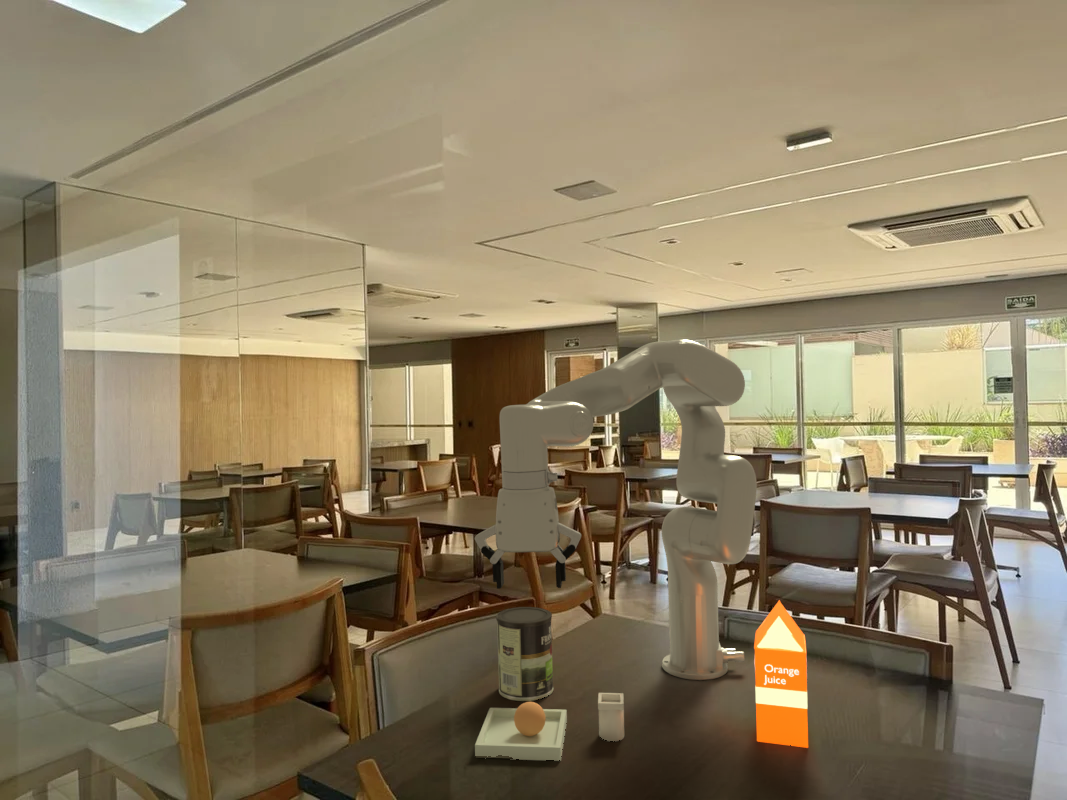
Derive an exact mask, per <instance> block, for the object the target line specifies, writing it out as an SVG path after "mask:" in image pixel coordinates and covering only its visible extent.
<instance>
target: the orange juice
mask: <svg viewBox="0 0 1067 800" xmlns="http://www.w3.org/2000/svg"><path fill="white" fill-rule="evenodd" d="M805 635H806V634H804V633H803V631H802V630H801V629H800V627H799V626H798V624H797V622H796V621H795V620H794V619H793V617H792V616H791V615H790V613H789V612H788V611H787V609H786V608H785V607H784V605H783V604H782V602H781V600H780V599H779V600H778V601H777V603H776V604H775V605H774V607H772V610H771V611H770V612H769V613H768V614H767V616H766V617H765V618H764V620H763V621H762V623H761V624H760V625H759V626H758V628H757V629H756V630H755V635H754V644H753V649H754V660H753V663H754V674H755V685H754V686H755V687H754V689H755V710H756V711H755V713H756V714H755V715H756V717H755V718H756V721H755V722H756V723H755V724H756V742H758V743H759V742H760V743H765V744H766V743H767V744H775V745H783V746H789V747H790V745H791V746H792V747H798V748H799V747H800V748H804V749H805V748H806V749H808V748H809V727H808V726H809V724H808V720H809V719H808V683H807V682H808V680H807V679H808V673H807V672H808V670H807V642H806V636H805Z"/></svg>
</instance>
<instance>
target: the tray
mask: <svg viewBox="0 0 1067 800" xmlns="http://www.w3.org/2000/svg"><path fill="white" fill-rule="evenodd" d="M517 708H518V707H515V708H514V707H513V708H512V707H489V709H488V711H487V714H486V717H485V718H484V721H483V724H482V727H481V729H480V731H479V734H478V736H477V738H476V741H475V744H474V757H475V756H487V757H488V756H491V757H496V756H498V755H502V756H509V757H512V758H513V759H512V760H516V759H519V760H520V761H521V760H523V761H526V760H527V761H546V760H554V761H553V762H561V761H562V757H563V750H564V744H563V743H564V742H565V737H564V736H566V731H565V729H566V730H567V724H568V712H567V711H568V710H567V709H559V708H558V709H553V708H552V709H551V708H542V709H543V710H544V713H545V718H546V720H545V725H544V727H543V729H542V730H541V731H540V732H539V733H538V734H536V735H534V736H526V735H523V734H522V733H520V732H519V731H518V730H517V728H516V726H515V723H514V715H515V712H516V710H517ZM566 723H567V724H566ZM562 749H563V750H562ZM561 756H562V757H561ZM559 760H560V761H559Z"/></svg>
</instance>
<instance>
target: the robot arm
mask: <svg viewBox="0 0 1067 800" xmlns="http://www.w3.org/2000/svg"><path fill="white" fill-rule="evenodd" d="M745 381H746V380H745V375H744V373H743V372H742V370H741V368H740V367H739V366H738V365H737V363H735V362H734V361H733V360H731V359H729V358H727V357H725V356H724V355H722V354H720V353H718V352H716V351H715V350H713V349H711V348H709V347H707V346H705V345H703V344H701V343H699V342H697V341H694V340H692V339H691V340H690V339H686V338H685V339H684V338H683V339H673V340H664V341H663V340H662V341H655V342H654V341H653V342H649V343H646V344H644V345H642V346H640V347H639V348H637V349H635V350H633V351H631V352H629V353H628V354H626V355H624V356H623V357H621V358H619V359H618V360H615V361H614V362H612V363H610V364H609V365H607V366H605V367H602V368H601V369H599V370H596V371H593V372H590V373H588V374H585V375H583V376H581V377H578V378H576V379H573V380H570V381H568V382H566V383H562V384H560V385H557V386H555V387H553V388H551V389H549V390H547V391H546V392H543V393H542V394H541V395H538V396H536V397H535V398H533V399H531V400H530V401H529V402H528V403H527V402H526V404H512V405H507V406H504V407H502V408H501V410H500V411H499V434H500V435H499V436H500V437H499V438H500V459H501V460H500V461H501V480H502V481H501V483H502V486H501V487H502V488H500V489H499V490H498V493H497V501H496V512H495V514H496V515H495V524H493V525H492V526H490V527H488V528H487V529H484V530H483V531H481V532H479V533H478V534H476V535H475V536H474V540H475V543H476V545H477V546H478V548H479V549H480V553H481V554H482V555H483V556H484V557H485V558H486V559H487V560H489V563H491V564H492V566H491V567H492V582H493V583H496V589H502V588H503V586H504V583H505V579H504V578H505V576H504V575H505V573H504V560H503V559H502V557H503V555H504V554H505V553H543V552H544V553H545V552H547V553H548V552H550V553H551V554H552V556H554V558H555V559H556V561H555V581H556V585H555V586H556V588H557V589H561V588H562V585H563V582H567V581H566V580H567V573H566V562H567V560H568V559H569V558H570V557H571V556H572V555H573V553H575V551H576V549H577V548H578V547H577V546H578V545H579V542H580V540H581V538H582V533H581V532H579V531H578V530H575V529H573V528H571V527H569V526H567V525H565V524H563V523H560V520H559V510H558V503H557V501H558V500H557V497H556V493H555V488H554V487H552V486H549V485H550V484H551V483H553V482H558V473H557V472H552V471H550V470H549V461H548V460H549V458H548V457H549V456H548V447H550V446H554V447H556V446H557V447H575V446H578V445H581V444H583V443H584V442H586V441H587V440H588V439H589V438H590V436H591V435H592V432H593V429H594V418H595V417H603V416H609V415H614V414H618V413H621V412H623V411H626V410H629V409H630V408H632V407H633V406H635V405H636V404H638V403H640V402H641V401H643V400H644V399H645V398H647V397H648V396H650V395H652V394H654V393H655V392H656V391H658V390H660V389H662V390H663V392H664V394H665V396H666V399H667V400H668V401H669V402H670V404H671V405H672V406H673V408H674V410H675V411H676V414H677V416H678V418H679V421H680V425H681V437H680V438H681V439H680V447H679V455H678V464H677V471H676V481H675V482H676V489H677V491H678V493H679V495H681V496H682V497H683V498H685V499H687V500H691V501H696V502H701V503H709V504H716V505H717V508H716V509H717V510H710V509H707V508H700V507H690V506H684V507H683V506H682V507H677V508H673V509H672V510H670V511H669V512H668V513H667V514H666V515H665V517H664V518H663V520H662V521H663V522H662V525H661V539H662V544H663V549H664V553H665V557H666V566H667V580H668V581H667V582H668V583H667V584H668V585H667V586H668V587H667V589H668V590H667V591H668V624H669V625H668V627H669V630H668V631H669V632H668V635H669V636H668V637H669V653H668V654H667V655H665V656H664V657H663V659H662V661H661V666H662V669H663V671H665V672H666V673H668V674H669V675H672V676H674V677H677V678H681V679H686V680H697V681H702V680H703V681H706V680H707V681H708V680H713V679H717V678H720V677H723V676H725V674H726V673H727V672H728V670H729V668H728V662H735V663H745V652H744V651H736V648H732V647H731V648H724V647H722V646H721V643H720V641H719V640H720V637H719V635H720V633H719V631H720V630H719V592H718V591H719V588H718V587H719V586H718V585H719V584H718V577H717V572H716V570H715V566H714V565H713V563H712V562H714V563H719V564H724V565H735V564H738V563H741V561H742V560H743V559H744V558H745V557H746V556H747V553H748V551H749V549H750V546H751V541H752V532H753V523H754V516H755V509H756V508H755V507H756V500H757V488H758V485H757V475H756V472H755V470H754V469H755V468H754V467H753V465H752V464H751V462H750V461H749V460H747V459H746V458H745V457H741V456H740V455H739V456H738V455H733V454H725V442H726V428H725V424H724V421H723V419H722V417H721V415H720V414H719V412H718V410H717V409H716V407H728V406H732V405H734V404H736V403H737V402H738V401H740V400H741V398H742V397H743V395H744V392H745V390H746V389H745V387H746V382H745ZM560 534H561V535H563V536H565V537H568V538H570V540H569V541H570V542H569V544H568V545H567V546H566V547H565V548H564V549H563V548H562V546H561V545H560V544H559V543H560V539H561V538H560V537H561V535H560ZM494 535H495V545H496V548H497V549H496V550H494V549H493V548H491V546H489V545H488V542H487V539H488V538H491V537H492V536H494Z"/></svg>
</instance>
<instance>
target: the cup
mask: <svg viewBox="0 0 1067 800" xmlns="http://www.w3.org/2000/svg"><path fill="white" fill-rule="evenodd" d="M624 700H625V698H624V693H623V692H620V693H619V692H598V697H597V710H598V736H599V738H600V737H601V738H602V739H601V738H600V739H601V740H603V739H604V740H603V741H605V740H607V741H606V742H610V741H613V742H614V741H615V742H619V740H620V741H622V740H624V738H625V705H624V704H625V703H624ZM613 742H612V743H613Z"/></svg>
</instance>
